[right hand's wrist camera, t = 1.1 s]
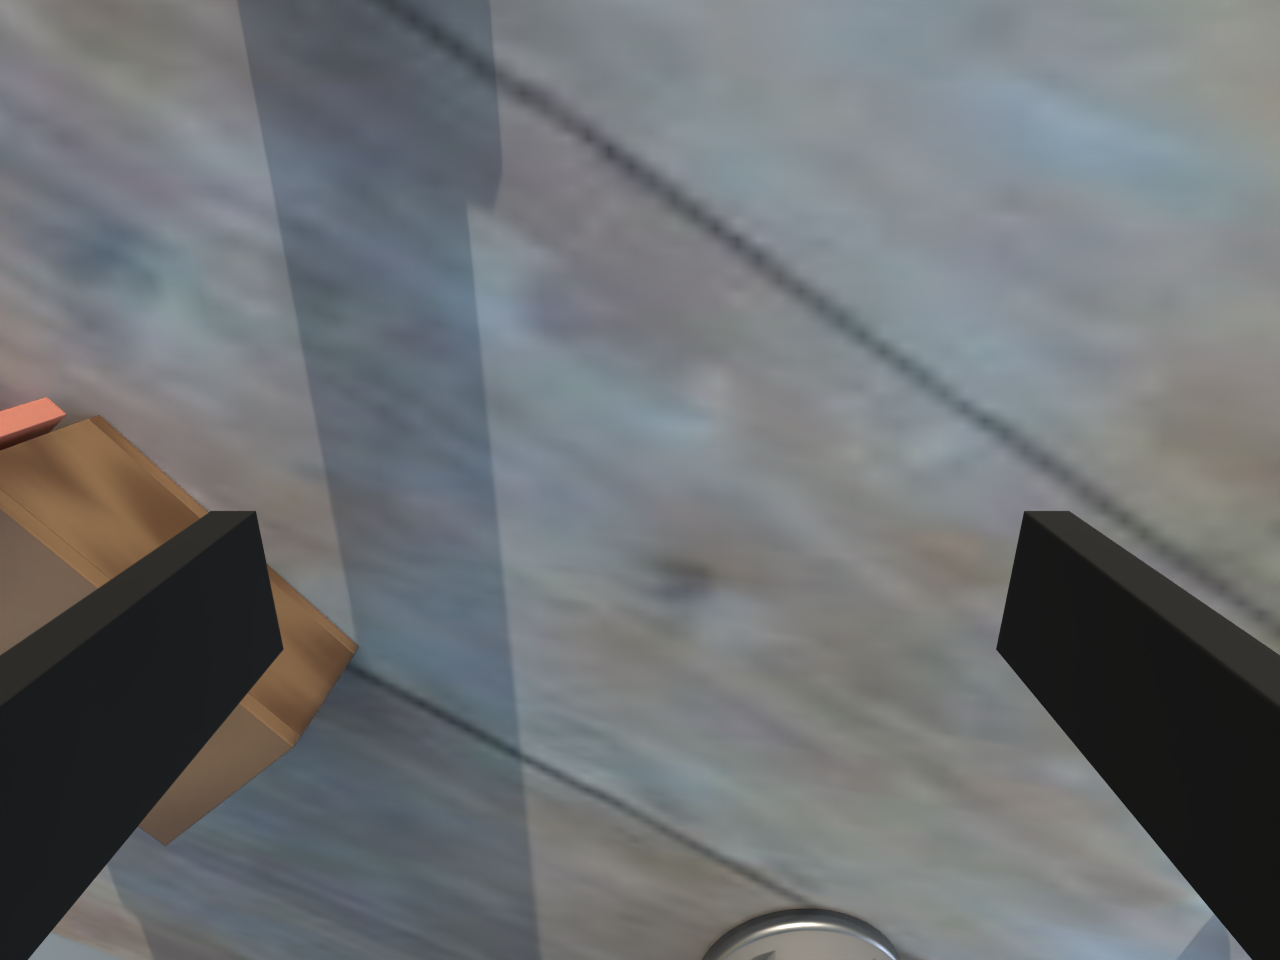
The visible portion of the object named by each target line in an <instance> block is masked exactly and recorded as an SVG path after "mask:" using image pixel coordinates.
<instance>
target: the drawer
mask: <svg viewBox="0 0 1280 960" xmlns="http://www.w3.org/2000/svg"><path fill="white" fill-rule="evenodd" d="M65 415H66V414H65V413H64V412H63V411H62V410H61V409H60V408H59V407H57V406H56V405H55V404H54V403H53V402H52V401H51V400H50V399H48V398H47V397H46V398H43V399H40V400H37V401H33V402H30V403H27V404H23V405H20V406H17V407H13V408H10V409H7V410H4V411H0V451H1V450H4V449H6V448H9V447H12V446H15V445H17V444H20V443H23V442H26V441H28V440H31V439H34V438H37V437H39V436H42V435H45V434H48V433H49V432H50V431H51V430H52V429H53V428H54V427H55V426H56V425H57V424H58V423H59V422H60V421H61V420H62V419H63V418H64V416H65Z"/></svg>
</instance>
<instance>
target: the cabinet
mask: <svg viewBox="0 0 1280 960" xmlns="http://www.w3.org/2000/svg"><path fill="white" fill-rule="evenodd" d="M207 513H209V512H208V511H206V510H205V509H204V508H203V507H202V506H201V505H200V504H199V503H197V502H196V501H195V500H194V499H193V498H192V497H191V496H190V495H188V494H187V493H186V492H185V491H184V490H183V489H182V488H181V487H179V486H178V485H177V484H176V483H175V482H174V481H173V480H172V479H171V478H169V477H168V476H167V475H166V474H165V473H164V472H163V471H162V470H160V469H159V468H158V467H157V466H156V465H155V464H154V463H153V462H151V461H150V460H149V459H148V458H147V457H146V456H145V455H144V454H143V453H141V452H140V451H139V450H138V449H137V448H136V447H135V446H134V445H132V444H131V443H130V442H129V441H128V440H127V439H126V438H125V437H123V436H122V435H121V434H120V433H119V432H118V431H117V430H116V429H115V428H113V427H112V426H111V425H110V424H109V423H108V422H107V421H106V420H104V419H103V418H102V417H101V416H100V415H98V416H95V417H92V418H90V419H86V420H83V421H81V422H78V423H75V424H72V425H70V426H67V427H64V428H61V429H59V430H56V431H53V432H50V433H48V434H45V435H42V436H39V437H37V438H34V439H31V440H28V441H26V442H23V443H20V444H17V445H15V446H12V447H9V448H6V449H4V450H1V451H0V655H2V654H3V653H4V652H6V651H7V650H9V649H10V648H12V647H13V646H15V645H16V644H18V643H19V642H21V641H22V640H23V639H25V638H26V637H28V636H29V635H31V634H32V633H34V632H35V631H37V630H38V629H40V628H41V627H42V626H44V625H45V624H47V623H48V622H50V621H51V620H53V619H54V618H56V617H57V616H59V615H60V614H61V613H63V612H64V611H66V610H67V609H69V608H70V607H72V606H73V605H75V604H76V603H78V602H79V601H80V600H82V599H83V598H85V597H86V596H88V595H89V594H91V593H92V592H94V591H95V590H97V589H98V588H99V587H101V586H102V585H104V584H105V583H107V582H108V581H110V580H111V579H113V578H114V577H115V576H117V575H118V574H120V573H121V572H123V571H124V570H126V569H127V568H129V567H130V566H132V565H133V564H134V563H136V562H137V561H139V560H140V559H142V558H143V557H145V556H146V555H148V554H149V553H151V552H152V551H153V550H155V549H156V548H158V547H159V546H161V545H162V544H164V543H165V542H167V541H168V540H170V539H171V538H172V537H174V536H175V535H177V534H178V533H180V532H181V531H183V530H184V529H186V528H187V527H189V526H190V525H191V524H193V523H194V522H196V521H197V520H199V519H200V518H202V517H203V516H205V515H206V514H207ZM267 569H268V574H269V579H270V584H271V589H272V594H273V599H274V604H275V609H276V614H277V619H278V623H279V628H280V633H281V638H282V643H283V648H284V650H283V651H282V652H281V653H280V654H279V656H278V657H277V658H276V659H275V661H274V662H273V663H272V664H271V665H270V667H269V668H268V669H267V670H266V671H265V673H264V674H263V675H262V676H261V677H260V679H259V680H258V681H257V682H256V684H255V685H254V686H253V687H252V688H251V690H250V691H249V692H248V693H247V694H246V696H245V697H244V698H243V699H242V701H241V702H240V703H239V704H238V705H237V707H236V708H235V709H234V710H233V711H232V713H231V714H230V715H229V716H228V717H227V719H226V720H225V721H224V722H223V724H222V725H221V726H220V727H219V728H218V730H217V731H216V732H215V733H214V734H213V736H212V737H211V738H210V739H209V741H208V742H207V743H206V744H205V745H204V747H203V748H202V749H201V750H200V751H199V753H198V754H197V755H196V756H195V758H194V759H193V760H192V761H191V762H190V764H189V765H188V766H187V767H186V768H185V770H184V771H183V772H182V773H181V774H180V776H179V777H178V778H177V779H176V781H175V782H174V783H173V784H172V785H171V787H170V788H169V789H168V790H167V791H166V793H165V794H164V795H163V796H162V798H161V799H160V800H159V801H158V802H157V804H156V805H155V806H154V807H153V808H152V810H151V811H150V812H149V813H148V814H147V816H146V817H145V818H144V819H143V821H142V822H141V823H140V824H139V825H138V827H140V828H141V829H142V830H144V831H145V832H147V833H148V834H149V835H151V836H152V837H154V838H155V839H156V840H158V841H159V842H160V843H162V844H163V845H165V846H166V845H168V844H169V843H170V842H171V841H173V840H174V839H175V838H177V837H178V836H179V835H180V834H182V833H183V832H184V831H186V830H187V829H188V828H190V827H191V826H192V825H193V824H195V823H196V822H197V821H199V820H200V819H201V818H202V817H204V816H205V815H206V814H208V813H209V812H210V811H212V810H213V809H214V808H215V807H217V806H218V805H219V804H221V803H222V802H223V801H224V800H226V799H227V798H228V797H230V796H231V795H232V794H233V793H235V792H236V791H237V790H239V789H240V788H241V787H243V786H244V785H245V784H246V783H248V782H249V781H250V780H252V779H253V778H254V777H255V776H257V775H258V774H259V773H261V772H262V771H263V770H264V769H266V768H267V767H268V766H270V765H271V764H272V763H274V762H275V761H276V760H277V759H279V758H280V757H281V756H283V755H284V754H285V753H286V752H288V751H289V750H290V749H292V748H293V747H294V746H295V744H296V743H297V741H298V740H299V738H300V736H301V735H302V734H303V732H304V731H305V729H306V728H307V726H308V725H309V723H310V722H311V720H312V719H313V717H314V715H315V714H316V712H317V711H318V709H319V708H320V706H321V705H322V703H323V702H324V700H325V699H326V697H327V696H328V694H329V693H330V691H331V690H332V688H333V686H334V685H335V683H336V682H337V680H338V679H339V677H340V676H341V674H342V673H343V671H344V670H345V668H346V667H347V665H348V664H349V662H350V661H351V659H352V657H353V656H354V654H355V653H356V651H357V649H358V648H359V646H358V645H357V644H355V643H354V642H353V641H352V640H351V639H350V638H349V637H348V636H346V635H345V634H344V633H343V632H342V631H341V630H340V629H339V628H338V627H336V626H335V625H334V624H333V623H332V622H331V621H330V620H329V619H327V618H326V617H325V616H324V615H323V614H322V613H321V612H320V611H318V610H317V609H316V608H315V607H314V606H313V605H312V604H311V603H309V602H308V601H307V600H306V599H305V598H304V597H303V596H302V595H301V594H299V593H298V592H297V591H296V590H295V589H294V588H293V587H292V586H290V585H289V584H288V583H287V582H286V581H285V580H284V579H283V578H281V577H280V576H279V575H278V574H277V573H276V572H275V571H274V570H273V569H271V568H270V567H269V566H268V565H267Z"/></svg>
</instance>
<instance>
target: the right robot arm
mask: <svg viewBox="0 0 1280 960" xmlns="http://www.w3.org/2000/svg"><path fill="white" fill-rule="evenodd" d="M283 650H284V648H283V643H282V638H281V633H280V628H279V623H278V619H277V614H276V609H275V604H274V599H273V594H272V589H271V584H270V579H269V574H268V569H267V564H266V559H265V554H264V549H263V544H262V540H261V535H260V530H259V525H258V520H257V515H256V511H210V512H209V513H207V514H206V515H205V516H203V517H202V518H200V519H199V520H197V521H196V522H194V523H193V524H191V525H190V526H189V527H187V528H186V529H184V530H183V531H181V532H180V533H178V534H177V535H175V536H174V537H172V538H171V539H170V540H168V541H167V542H165V543H164V544H162V545H161V546H159V547H158V548H156V549H155V550H153V551H152V552H151V553H149V554H148V555H146V556H145V557H143V558H142V559H140V560H139V561H137V562H136V563H134V564H133V565H132V566H130V567H129V568H127V569H126V570H124V571H123V572H121V573H120V574H118V575H117V576H115V577H114V578H113V579H111V580H110V581H108V582H107V583H105V584H104V585H102V586H101V587H99V588H98V589H97V590H95V591H94V592H92V593H91V594H89V595H88V596H86V597H85V598H83V599H82V600H80V601H79V602H78V603H76V604H75V605H73V606H72V607H70V608H69V609H67V610H66V611H64V612H63V613H61V614H60V615H59V616H57V617H56V618H54V619H53V620H51V621H50V622H48V623H47V624H45V625H44V626H42V627H41V628H40V629H38V630H37V631H35V632H34V633H32V634H31V635H29V636H28V637H26V638H25V639H23V640H22V641H21V642H19V643H18V644H16V645H15V646H13V647H12V648H10V649H9V650H7V651H6V652H4V653H3V654H2V655H0V960H28V959H29V958H30V956H31V955H32V954H33V953H34V951H35V950H36V949H37V948H38V947H39V945H40V944H41V943H42V942H43V941H44V939H45V938H46V937H47V936H48V935H49V933H50V932H51V931H52V930H53V928H54V927H55V926H56V925H57V924H58V922H59V921H60V920H61V919H62V918H63V916H64V915H65V914H66V913H67V911H68V910H69V909H70V908H71V907H72V905H73V904H74V903H75V902H76V901H77V899H78V898H79V897H80V896H81V895H82V893H83V892H84V891H85V890H86V888H87V887H88V886H89V885H90V884H91V882H92V881H93V880H94V879H95V878H96V876H97V875H98V874H99V873H100V871H101V870H102V869H103V868H104V867H105V865H106V864H107V863H108V862H109V861H110V859H111V858H112V857H113V856H114V854H115V853H116V852H117V851H118V850H119V848H120V847H121V846H122V845H123V844H124V842H125V841H126V840H127V839H128V838H129V836H130V835H131V834H132V833H133V831H134V830H135V829H136V828H137V827H138V825H139V824H140V823H141V822H142V821H143V819H144V818H145V817H146V816H147V814H148V813H149V812H150V811H151V810H152V808H153V807H154V806H155V805H156V804H157V802H158V801H159V800H160V799H161V798H162V796H163V795H164V794H165V793H166V791H167V790H168V789H169V788H170V787H171V785H172V784H173V783H174V782H175V781H176V779H177V778H178V777H179V776H180V774H181V773H182V772H183V771H184V770H185V768H186V767H187V766H188V765H189V764H190V762H191V761H192V760H193V759H194V758H195V756H196V755H197V754H198V753H199V751H200V750H201V749H202V748H203V747H204V745H205V744H206V743H207V742H208V741H209V739H210V738H211V737H212V736H213V734H214V733H215V732H216V731H217V730H218V728H219V727H220V726H221V725H222V724H223V722H224V721H225V720H226V719H227V717H228V716H229V715H230V714H231V713H232V711H233V710H234V709H235V708H236V707H237V705H238V704H239V703H240V702H241V701H242V699H243V698H244V697H245V696H246V694H247V693H248V692H249V691H250V690H251V688H252V687H253V686H254V685H255V684H256V682H257V681H258V680H259V679H260V677H261V676H262V675H263V674H264V673H265V671H266V670H267V669H268V668H269V667H270V665H271V664H272V663H273V662H274V661H275V659H276V658H277V657H278V656H279V654H280V653H281V652H282V651H283ZM996 650H997V651H998V652H999V653H1000V654H1001V656H1002V657H1003V658H1004V659H1005V661H1006V662H1007V663H1008V664H1009V665H1010V667H1011V668H1012V669H1013V670H1014V671H1015V673H1016V674H1017V675H1018V676H1019V677H1020V679H1021V680H1022V681H1023V682H1024V684H1025V685H1026V686H1027V687H1028V688H1029V690H1030V691H1031V692H1032V693H1033V694H1034V696H1035V697H1036V698H1037V699H1038V701H1039V702H1040V703H1041V704H1042V705H1043V707H1044V708H1045V709H1046V710H1047V711H1048V713H1049V714H1050V715H1051V716H1052V717H1053V719H1054V720H1055V721H1056V722H1057V724H1058V725H1059V726H1060V727H1061V728H1062V730H1063V731H1064V732H1065V733H1066V734H1067V736H1068V737H1069V738H1070V739H1071V741H1072V742H1073V743H1074V744H1075V745H1076V747H1077V748H1078V749H1079V750H1080V751H1081V753H1082V754H1083V755H1084V756H1085V758H1086V759H1087V760H1088V761H1089V762H1090V764H1091V765H1092V766H1093V767H1094V768H1095V770H1096V771H1097V772H1098V773H1099V774H1100V776H1101V777H1102V778H1103V779H1104V781H1105V782H1106V783H1107V784H1108V785H1109V787H1110V788H1111V789H1112V790H1113V791H1114V793H1115V794H1116V795H1117V796H1118V798H1119V799H1120V800H1121V801H1122V802H1123V804H1124V805H1125V806H1126V807H1127V808H1128V810H1129V811H1130V812H1131V813H1132V814H1133V816H1134V817H1135V818H1136V819H1137V821H1138V822H1139V823H1140V824H1141V825H1142V827H1143V828H1144V829H1145V830H1146V831H1147V833H1148V834H1149V835H1150V836H1151V838H1152V839H1153V840H1154V841H1155V842H1156V844H1157V845H1158V846H1159V847H1160V848H1161V850H1162V851H1163V852H1164V853H1165V854H1166V856H1167V857H1168V858H1169V859H1170V861H1171V862H1172V863H1173V864H1174V865H1175V867H1176V868H1177V869H1178V870H1179V871H1180V873H1181V874H1182V875H1183V876H1184V878H1185V879H1186V880H1187V881H1188V882H1189V884H1190V885H1191V886H1192V887H1193V888H1194V890H1195V891H1196V892H1197V893H1198V895H1199V896H1200V897H1201V898H1202V899H1203V901H1204V902H1205V903H1206V904H1207V905H1208V907H1209V908H1210V909H1211V910H1212V911H1213V913H1214V914H1215V915H1216V916H1217V918H1218V919H1219V920H1220V921H1221V922H1222V924H1223V925H1224V926H1225V927H1226V928H1227V930H1228V931H1229V932H1230V933H1231V935H1232V936H1233V937H1234V938H1235V939H1236V941H1237V942H1238V943H1239V944H1240V945H1241V947H1242V948H1243V949H1244V950H1245V951H1246V953H1247V954H1248V955H1249V956H1250V958H1251V959H1252V960H1280V655H1278V654H1277V653H1276V652H1274V651H1273V650H1271V649H1270V648H1268V647H1267V646H1265V645H1264V644H1262V643H1261V642H1259V641H1258V640H1257V639H1255V638H1254V637H1252V636H1251V635H1249V634H1248V633H1246V632H1245V631H1243V630H1242V629H1240V628H1239V627H1238V626H1236V625H1235V624H1233V623H1232V622H1230V621H1229V620H1227V619H1226V618H1224V617H1223V616H1221V615H1220V614H1219V613H1217V612H1216V611H1214V610H1213V609H1211V608H1210V607H1208V606H1207V605H1205V604H1204V603H1202V602H1201V601H1200V600H1198V599H1197V598H1195V597H1194V596H1192V595H1191V594H1189V593H1188V592H1186V591H1185V590H1183V589H1182V588H1181V587H1179V586H1178V585H1176V584H1175V583H1173V582H1172V581H1170V580H1169V579H1167V578H1166V577H1165V576H1163V575H1162V574H1160V573H1159V572H1157V571H1156V570H1154V569H1153V568H1151V567H1150V566H1148V565H1147V564H1146V563H1144V562H1143V561H1141V560H1140V559H1138V558H1137V557H1135V556H1134V555H1132V554H1131V553H1129V552H1128V551H1127V550H1125V549H1124V548H1122V547H1121V546H1119V545H1118V544H1116V543H1115V542H1113V541H1112V540H1110V539H1109V538H1108V537H1106V536H1105V535H1103V534H1102V533H1100V532H1099V531H1097V530H1096V529H1094V528H1093V527H1091V526H1090V525H1089V524H1087V523H1086V522H1084V521H1083V520H1081V519H1080V518H1078V517H1077V516H1075V515H1074V514H1072V513H1071V512H1070V511H1024V515H1023V520H1022V525H1021V530H1020V535H1019V540H1018V544H1017V549H1016V554H1015V559H1014V564H1013V569H1012V574H1011V579H1010V584H1009V589H1008V594H1007V599H1006V604H1005V609H1004V614H1003V619H1002V623H1001V628H1000V633H999V638H998V643H997V648H996ZM703 960H900V958H899V956H898V954H897V952H896V950H895V948H894V947H893V945H892V944H891V942H890V941H889V940H888V939H887V938H886V937H885V936H884V935H883V934H882V933H881V932H880V931H878V930H877V929H876V928H874V927H873V926H871V925H869V924H868V923H866V922H864V921H862V920H860V919H858V918H855V917H852V916H850V915H846V914H843V913H839V912H834V911H829V910H820V909H794V910H785V911H779V912H774V913H770V914H766V915H763V916H760V917H757V918H754V919H752V920H749V921H747V922H745V923H743V924H741V925H739V926H737V927H735V928H734V929H732V930H730V931H729V932H728V933H726V934H725V935H724V936H722V937H721V938H720V939H719V940H718V941H717V942H716V943H715V944H714V945H713V946H712V947H711V948H710V949H709V950H708V952H707V953H706V955H705V956H704V958H703Z"/></svg>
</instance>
